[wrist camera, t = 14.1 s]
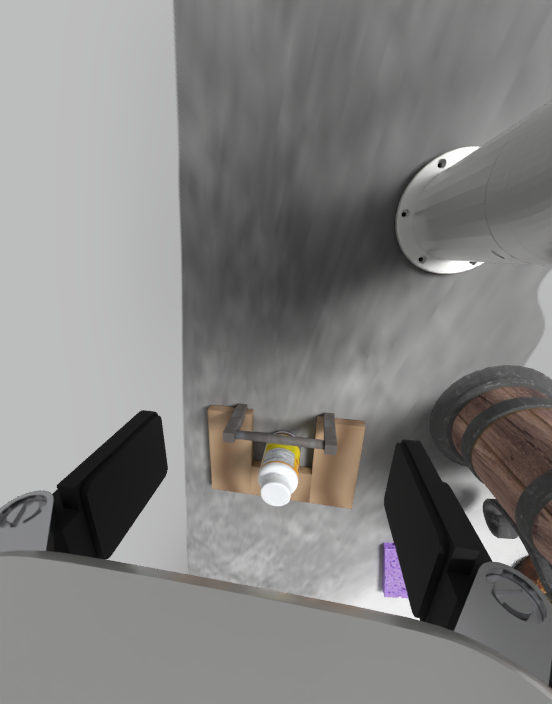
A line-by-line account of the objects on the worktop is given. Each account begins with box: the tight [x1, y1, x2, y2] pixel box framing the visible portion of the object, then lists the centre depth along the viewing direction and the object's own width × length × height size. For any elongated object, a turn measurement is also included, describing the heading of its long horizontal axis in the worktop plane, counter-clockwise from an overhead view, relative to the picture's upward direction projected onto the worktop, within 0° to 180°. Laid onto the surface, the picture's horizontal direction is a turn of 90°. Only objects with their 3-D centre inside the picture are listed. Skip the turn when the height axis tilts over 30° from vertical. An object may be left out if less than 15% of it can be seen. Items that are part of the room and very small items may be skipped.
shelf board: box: [207, 404, 365, 509], centre depth 42 cm, size 24×17×8 cm
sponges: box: [383, 543, 408, 598], centre depth 50 cm, size 7×13×2 cm, turn 7°
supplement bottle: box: [258, 431, 300, 506], centre depth 40 cm, size 6×6×10 cm
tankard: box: [430, 365, 552, 601], centre depth 30 cm, size 24×17×20 cm
